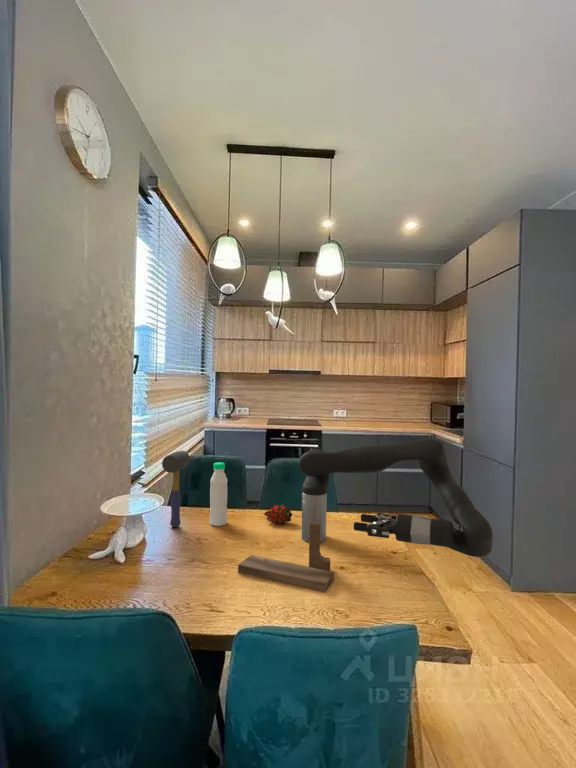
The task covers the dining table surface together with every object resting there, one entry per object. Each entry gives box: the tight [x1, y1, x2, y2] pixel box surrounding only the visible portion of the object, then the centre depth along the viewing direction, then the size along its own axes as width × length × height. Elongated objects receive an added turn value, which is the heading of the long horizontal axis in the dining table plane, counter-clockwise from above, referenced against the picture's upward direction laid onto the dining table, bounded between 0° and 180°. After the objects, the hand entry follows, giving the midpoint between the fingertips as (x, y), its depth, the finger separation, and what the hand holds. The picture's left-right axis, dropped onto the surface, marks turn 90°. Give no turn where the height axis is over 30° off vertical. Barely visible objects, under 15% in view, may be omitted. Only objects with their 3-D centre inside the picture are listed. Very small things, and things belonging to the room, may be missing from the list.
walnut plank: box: [237, 554, 335, 593], centre depth 124 cm, size 8×28×3 cm, turn 66°
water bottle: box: [209, 461, 228, 527], centre depth 170 cm, size 7×7×25 cm
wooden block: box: [308, 521, 331, 571], centre depth 128 cm, size 7×3×15 cm, turn 86°
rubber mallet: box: [161, 450, 191, 528], centre depth 165 cm, size 12×8×30 cm, turn 170°
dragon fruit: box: [263, 504, 293, 526], centre depth 172 cm, size 8×8×12 cm
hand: (357, 521), depth 124 cm, fingers open, 8 cm apart
